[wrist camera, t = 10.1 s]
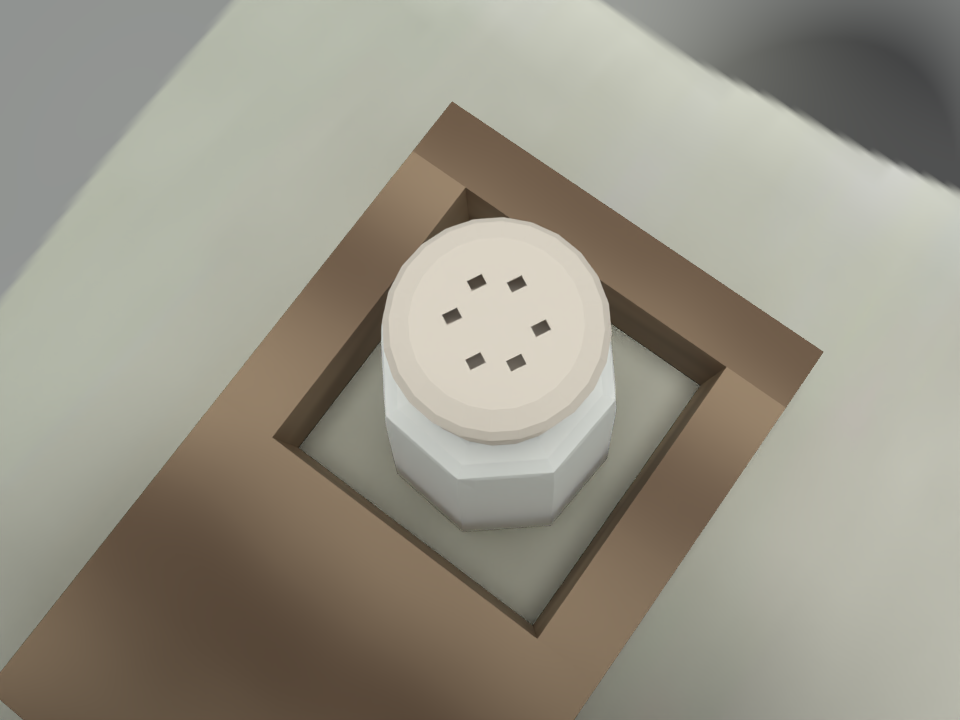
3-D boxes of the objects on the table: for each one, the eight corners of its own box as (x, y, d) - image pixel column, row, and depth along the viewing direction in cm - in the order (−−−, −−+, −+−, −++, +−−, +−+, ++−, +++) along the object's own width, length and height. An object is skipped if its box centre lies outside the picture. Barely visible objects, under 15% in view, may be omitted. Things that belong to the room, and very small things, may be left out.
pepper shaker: (650, 474, 21) (810, 422, 10) (447, 577, 21) (389, 637, 10) (547, 278, 22) (592, 41, 11) (351, 375, 22) (200, 227, 11)
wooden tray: (388, 954, 19) (372, 1017, 17) (48, 669, 20) (-14, 688, 18) (786, 371, 21) (823, 352, 19) (457, 147, 23) (452, 101, 20)
